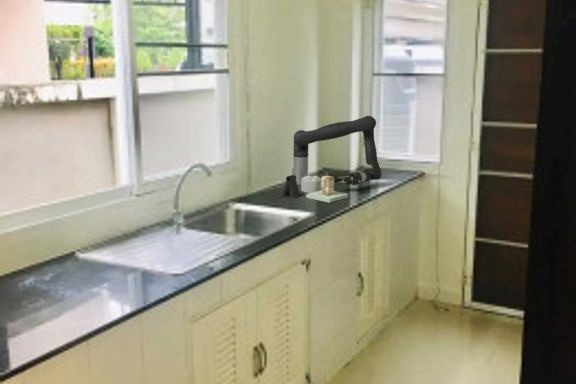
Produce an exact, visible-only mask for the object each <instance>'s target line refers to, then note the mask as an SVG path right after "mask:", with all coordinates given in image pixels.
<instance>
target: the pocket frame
mask: <svg viewBox="0 0 576 384" xmlns="http://www.w3.org/2000/svg"><path fill="white" fill-rule="evenodd" d="M305 196H306V197H305V198H307V199H312V200H316V201H321V202H325V203H333V202H337V201H340V200H344V199H347V198H349V193H345V192H342V191H341V192H339V191H335V190H334V195H331V196H326V195H321V191H317V192H313V193H306V194H305Z"/></svg>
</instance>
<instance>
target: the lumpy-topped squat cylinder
mask: <svg viewBox="0 0 576 384" xmlns="http://www.w3.org/2000/svg"><path fill="white" fill-rule="evenodd" d="M321 179H322V177H320V176H318V175H313V176H311V175H308V176H305V177H303V178H302V179H301V185H300V187H301V188H300V190H301V191H302V192H304V193H307V194H309V193H313V192H317V191H321Z"/></svg>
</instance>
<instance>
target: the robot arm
mask: <svg viewBox="0 0 576 384" xmlns="http://www.w3.org/2000/svg"><path fill="white" fill-rule="evenodd" d="M376 125H377V120H376V119H375V118H374V117H373V116H371V115H365V116H363V117H360V118H357V119H355V120H349V121H339V122H334V123H329V124H326V125H324V126H321V127H319V128H316V129H313V130H307V131H305V130H303V129H299V130H297V131H295V133H294V135H293V154H292V155H293V163H292V164H293V167H292V168H291V175H295V176H296V182H297V185H298V186H299V185H300V186H301V179H302V178H303V177H305V176H309V144H313V143H315V142H316V143H317V142H322V141H328V140H334V139H339V138H342V137H346V136H349V135H351V134H354V133H361V132H362V133H363V140H364V152H365V153H364V154H365V164H366V165H369V166H371V167H370V168H365V169H364V170H360V171H353V172H350V173H349V174H348V175H347V176H346V175H345V176H344V175H340V176H336V178H334V184H336V183H344V184H345V185H346V186H349V185H351V186H355V185H356V186H357V185H360V184H364V183H366V182H369V181H371V180H372V181H373V180H375V181H376V180H380V179H381V178H382V173H383V172H382V169H381V167H380V164H379V162H378V153H377V147H376V140H375V128H376Z"/></svg>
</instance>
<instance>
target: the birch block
mask: <svg viewBox="0 0 576 384" xmlns="http://www.w3.org/2000/svg"><path fill="white" fill-rule="evenodd" d="M334 181H335V176H330V175H324V176H321V195H326V196H331V195H334V191H335V189H334V188H335V182H334Z"/></svg>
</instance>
